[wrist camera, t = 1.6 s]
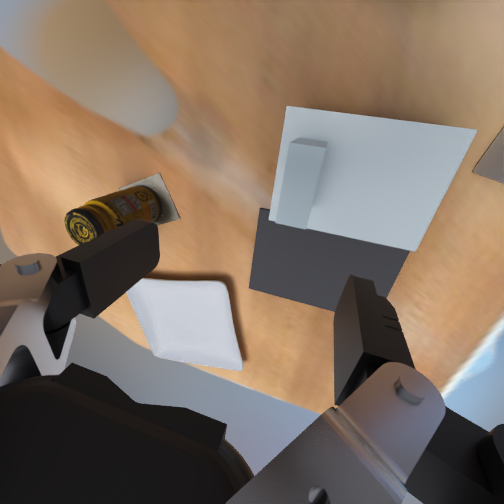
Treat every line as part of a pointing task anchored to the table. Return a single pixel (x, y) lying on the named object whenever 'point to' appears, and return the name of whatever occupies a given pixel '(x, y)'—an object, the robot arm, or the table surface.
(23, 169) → the table surface
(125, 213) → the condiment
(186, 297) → the salad plate
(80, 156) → the table surface
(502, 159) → the milk carton
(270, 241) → the mat
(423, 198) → the lid
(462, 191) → the table surface
